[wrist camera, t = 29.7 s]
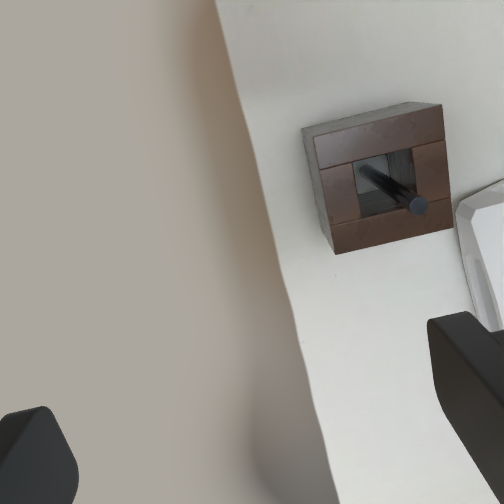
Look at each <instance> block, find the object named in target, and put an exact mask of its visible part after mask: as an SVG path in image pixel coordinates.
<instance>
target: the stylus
mask: <svg viewBox="0 0 504 504" xmlns="http://www.w3.org/2000/svg"><path fill="white" fill-rule="evenodd" d="M360 174H361V176H362V177H364V178H365V179H366V180H368V181H369V182H370V183H372V184H373V185H374V186H376V187H377V188H378V189H380V190H381V191H383V192H384V193H385V194H387V195H388V196H389V197H391V198H392V199H393V200H395V201H396V202H397V203H399V204H400V205H401V206H403V207H404V208H406V209H407V210H408V211H410V212H411V213H412V214H414V215H421V214H423V213H425V212H426V210H427V208H428V202H427V200H426V199H425V198H424V197H422V196H420V195H419V194H417V193H415V192H414V191H412V190H410V189H409V188H407V187H405V186H404V185H402V184H400V183H399V182H397V181H395V180H394V179H392V178H390V177H389V176H387V175H385V174H384V173H382V172H380V171H379V170H377V169H376V168H374V167H372V166H371V165H368V164H367V165H364V166H362V167H361V168H360Z"/></svg>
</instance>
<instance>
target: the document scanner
mask: <svg viewBox="0 0 504 504" xmlns="http://www.w3.org/2000/svg"><path fill="white" fill-rule="evenodd" d="M455 216H456V222H457V228H458V234H459V240H460V247H461V253H462V259H463V265H464V269H465V273H466V277H467V281H468V284H469V288H470V292H471V296H472V300H473V303H474V307H475V311H476V315H477V319H478V321H479V322H480V323H481V324H482V325H483V326H484V327H485V328H486V329H487V330H488V331H489V332H495V331H499V330H504V179H503V180H501V181H499V182H497V183H495V184H493V185H491V186H489V187H487V188H485V189H483V190H482V191H480V192H478V193H476V194H474V195H472V196H470V197H468V198H466V199H464V200H462V201H460V203H459V205H458V207H457V209H456V211H455Z"/></svg>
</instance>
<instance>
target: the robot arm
mask: <svg viewBox="0 0 504 504" xmlns="http://www.w3.org/2000/svg"><path fill="white" fill-rule="evenodd" d="M427 334H428V341H429V349H430V356H431V364H432V371H433V379H434V385H435V390H436V394H437V397H438V400H439V402H440V405H441V407H442V410H443V412H444V414H445V415H446V417H447V419H448V420H449V422H450V424H451V425H452V427H453V428H454V430H455V432H456V433H457V435H458V436H459V438H460V440H461V441H462V443H463V444H464V446H465V448H466V449H467V451H468V453H469V454H470V456H471V457H472V459H473V461H474V462H475V464H476V465H477V467H478V469H479V470H480V472H481V473H482V475H483V477H484V478H485V480H486V481H487V483H488V485H489V486H490V488H491V490H492V491H493V493H494V494H495V496H496V498H497V499H498V501H499V502H500V504H504V330H499V331H495V332H489V331H488V330H487V329H486V328H485V327H484V326H483V325H482V324H481V323H480V322H479V321H478V320H477V319H476V318H475V317H474V316H473V315H472V314H471V313H470V312H468V311H464V312H460V313H455V314H451V315H446V316H442V317H437V318H433V319H429V320H428V322H427ZM78 482H79V473H78V466H77V463H76V460H75V458H74V456H73V454H72V451H71V449H70V447H69V445H68V443H67V441H66V439H65V437H64V435H63V433H62V431H61V429H60V427H59V425H58V423H57V421H56V419H55V417H54V415H53V413H52V411H51V410H50V409H49V408H47V407H45V406H40V407H36V408H32V409H28V410H23V411H18V412H14V413H9V414H7V415H5V416H4V417H3V418H2V419H1V421H0V504H72V502H73V500H74V498H75V495H76V492H77V488H78Z"/></svg>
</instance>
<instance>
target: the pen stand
mask: <svg viewBox="0 0 504 504" xmlns="http://www.w3.org/2000/svg"><path fill="white" fill-rule="evenodd" d="M301 131H302V136H303V141H304V146H305V151H306V156H307V161H308V166H309V171H310V176H311V181H312V186H313V191H314V196H315V201H316V205H317V211H318V216H319V221H320V226H321V230H322V232H323V234H324V235H325V237H326V239H327V241H328V243H329V244H330V246H331V248H332V250H333V252H334V253H335V255H338V254H342V253H346V252H351V251H355V250H359V249H364V248H368V247H372V246H376V245H381V244H385V243H389V242H394V241H398V240H402V239H406V238H411V237H415V236H419V235H424V234H428V233H432V232H436V231H441V230H445V229H449V228H453V227H454V224H453V214H452V203H451V193H450V183H449V172H448V162H447V151H446V141H445V130H444V119H443V109H442V105H441V104H430V103H418V102H406V103H402V104H398V105H394V106H390V107H386V108H382V109H378V110H374V111H370V112H366V113H362V114H358V115H354V116H350V117H346V118H342V119H339V120H335V121H331V122H327V123H323V124H319V125H315V126H311V127H307V128H303V129H301ZM383 154H387V157H388V164H389V171H390V178H392V179H394V180H395V181H397V182H399V183H400V184H402V185H404V186H405V187H407V188H409V189H410V190H412V191H414V192H415V193H417V194H419V195H420V196H422V197H424V198H425V199H426V200H427V202H428V208H427V210H426V212H425V213H423V214H421V215H414V214H412V213H411V212H410V211H408V210H407V209H406V208H404V207H403V206H401V205H400V204H399V203H397V202H396V201H395V200H393V199H392V198H391V197H389V196H388V195H387V194H385V193H384V192H383V191H381V190H377V191H373V192H369V193H365V194H361V195H357V189H356V183H355V177H354V171H353V165H352V162H354V161H358V160H362V159H366V158H371V157H375V156H379V155H383Z"/></svg>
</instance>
